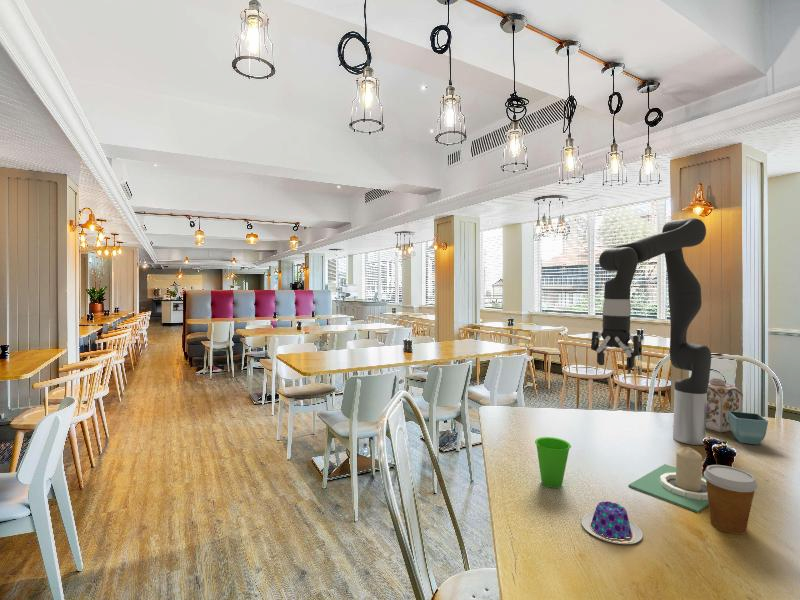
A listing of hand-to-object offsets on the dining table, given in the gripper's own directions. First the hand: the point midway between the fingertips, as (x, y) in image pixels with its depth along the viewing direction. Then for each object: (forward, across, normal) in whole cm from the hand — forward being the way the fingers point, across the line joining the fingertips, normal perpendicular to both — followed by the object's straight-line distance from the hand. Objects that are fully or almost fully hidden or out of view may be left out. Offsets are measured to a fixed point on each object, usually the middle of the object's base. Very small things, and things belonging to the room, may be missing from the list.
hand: (614, 367), depth 131 cm
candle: (+28, -22, +4) cm, 35 cm away
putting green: (+28, -20, +4) cm, 35 cm away
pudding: (+29, -19, +38) cm, 52 cm away
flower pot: (+28, -20, -51) cm, 62 cm away
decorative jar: (+28, -8, -61) cm, 68 cm away
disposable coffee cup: (+28, -34, +16) cm, 47 cm away
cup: (+28, +1, +30) cm, 41 cm away
